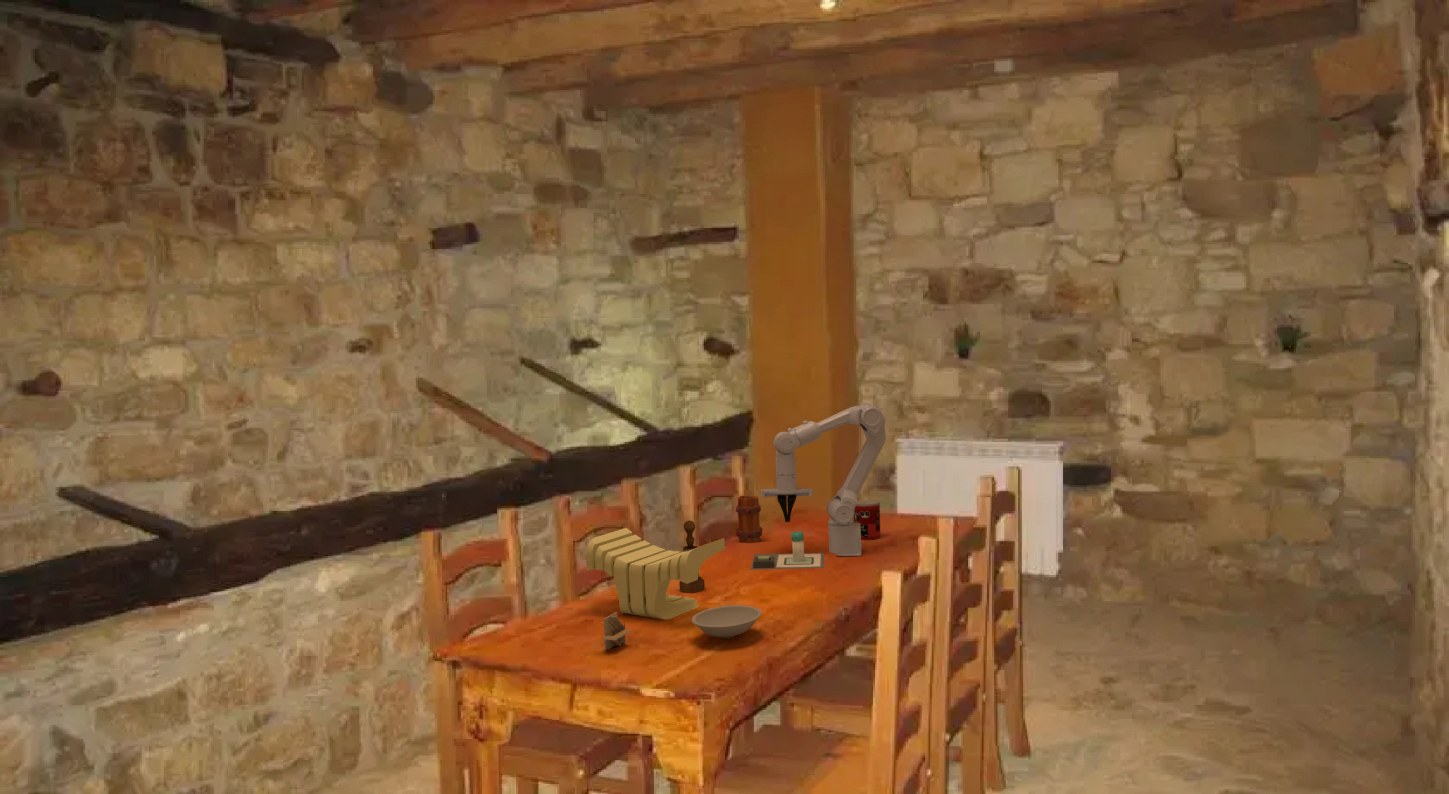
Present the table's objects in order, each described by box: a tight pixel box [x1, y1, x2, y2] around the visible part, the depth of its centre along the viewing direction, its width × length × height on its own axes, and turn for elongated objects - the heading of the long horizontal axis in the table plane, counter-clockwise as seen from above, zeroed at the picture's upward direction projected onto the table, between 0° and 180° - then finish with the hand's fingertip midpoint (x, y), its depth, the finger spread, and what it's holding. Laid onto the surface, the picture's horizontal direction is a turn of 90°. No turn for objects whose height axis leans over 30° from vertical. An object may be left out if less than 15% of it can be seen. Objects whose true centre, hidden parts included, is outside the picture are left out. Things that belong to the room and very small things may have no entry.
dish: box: [691, 604, 763, 639], centre depth 254 cm, size 18×14×5 cm
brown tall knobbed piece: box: [678, 520, 705, 594], centre depth 296 cm, size 7×6×18 cm
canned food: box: [853, 499, 881, 541], centre depth 350 cm, size 8×8×11 cm
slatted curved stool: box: [585, 527, 726, 620], centre depth 277 cm, size 30×16×18 cm, turn 56°
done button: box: [758, 556, 770, 561], centre depth 316 cm, size 3×3×2 cm
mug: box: [735, 489, 763, 544], centre depth 352 cm, size 15×8×15 cm, turn 179°
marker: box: [790, 530, 805, 562], centre depth 319 cm, size 3×3×8 cm
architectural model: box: [602, 611, 632, 651], centre depth 250 cm, size 3×7×7 cm, turn 155°
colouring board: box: [750, 552, 825, 571], centre depth 320 cm, size 20×18×3 cm
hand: (787, 521), depth 328 cm, fingers closed
